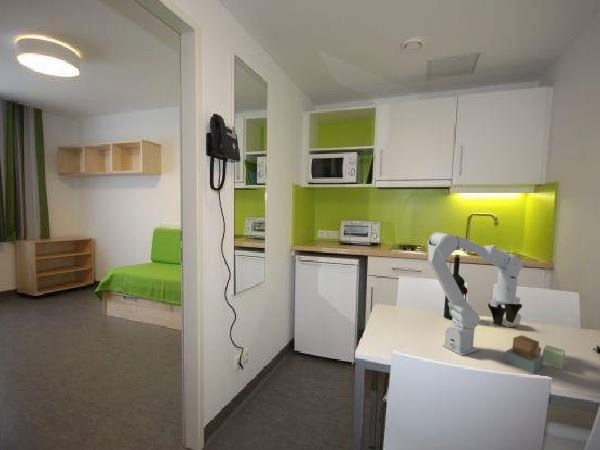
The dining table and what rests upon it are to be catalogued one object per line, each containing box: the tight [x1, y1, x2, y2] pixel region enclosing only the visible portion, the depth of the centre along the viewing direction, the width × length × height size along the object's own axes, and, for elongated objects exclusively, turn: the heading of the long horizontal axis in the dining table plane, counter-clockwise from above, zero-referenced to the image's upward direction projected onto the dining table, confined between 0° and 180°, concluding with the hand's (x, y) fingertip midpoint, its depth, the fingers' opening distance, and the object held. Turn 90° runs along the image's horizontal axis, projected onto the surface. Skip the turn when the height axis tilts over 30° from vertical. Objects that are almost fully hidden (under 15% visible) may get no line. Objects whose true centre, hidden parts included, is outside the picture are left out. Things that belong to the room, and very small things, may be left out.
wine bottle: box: [443, 254, 468, 321], centre depth 136 cm, size 8×10×30 cm
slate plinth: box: [504, 346, 544, 374], centre depth 98 cm, size 8×8×4 cm
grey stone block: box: [502, 312, 522, 328], centre depth 130 cm, size 8×9×10 cm
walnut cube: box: [512, 335, 540, 359], centre depth 97 cm, size 5×5×5 cm
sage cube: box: [542, 344, 566, 370], centre depth 99 cm, size 5×5×5 cm
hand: (503, 323), depth 107 cm, fingers open, 7 cm apart
